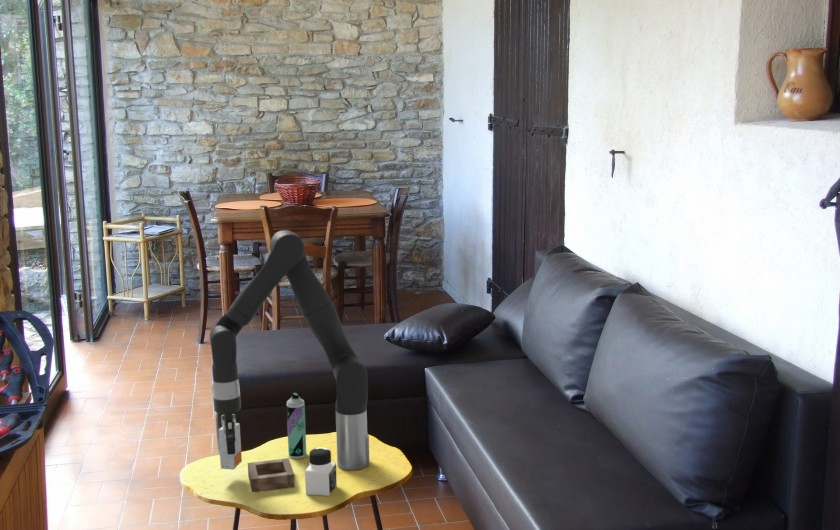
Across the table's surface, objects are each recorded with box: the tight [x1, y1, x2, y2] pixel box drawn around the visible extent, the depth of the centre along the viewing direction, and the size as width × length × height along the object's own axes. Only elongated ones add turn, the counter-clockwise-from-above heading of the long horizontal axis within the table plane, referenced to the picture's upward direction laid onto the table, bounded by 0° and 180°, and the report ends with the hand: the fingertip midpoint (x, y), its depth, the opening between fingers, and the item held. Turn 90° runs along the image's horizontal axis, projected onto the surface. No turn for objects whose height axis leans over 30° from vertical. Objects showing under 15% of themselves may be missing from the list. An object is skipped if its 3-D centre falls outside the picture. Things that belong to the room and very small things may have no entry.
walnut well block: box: [247, 457, 296, 493], centre depth 257 cm, size 12×12×4 cm
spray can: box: [286, 392, 307, 460], centre depth 274 cm, size 6×6×20 cm
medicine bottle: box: [304, 447, 338, 497], centre depth 250 cm, size 7×7×12 cm
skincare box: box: [217, 422, 243, 470], centre depth 257 cm, size 6×4×12 cm
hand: (230, 448), depth 258 cm, fingers closed on skincare box, 7 cm apart
